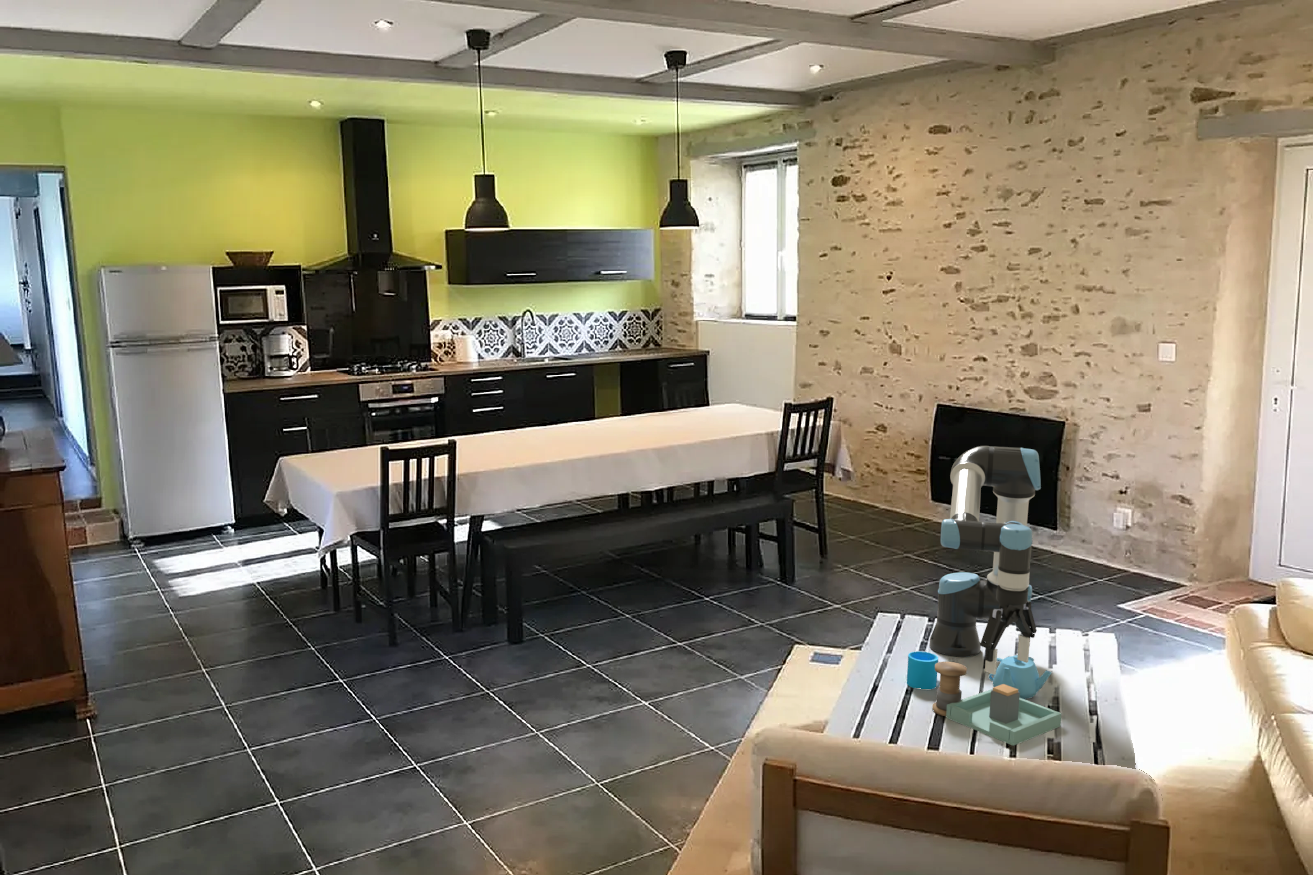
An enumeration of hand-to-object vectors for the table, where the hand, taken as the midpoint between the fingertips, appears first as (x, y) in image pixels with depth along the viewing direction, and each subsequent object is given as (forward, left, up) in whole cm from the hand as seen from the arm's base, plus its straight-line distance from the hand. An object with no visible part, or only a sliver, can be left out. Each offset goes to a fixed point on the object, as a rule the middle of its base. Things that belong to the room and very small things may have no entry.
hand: (1006, 666), depth 266 cm
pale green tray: (0, 0, -15) cm, 15 cm away
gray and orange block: (0, 0, -14) cm, 14 cm away
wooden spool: (+6, -12, -15) cm, 20 cm away
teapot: (-18, -8, -15) cm, 24 cm away
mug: (-5, -29, -15) cm, 33 cm away
